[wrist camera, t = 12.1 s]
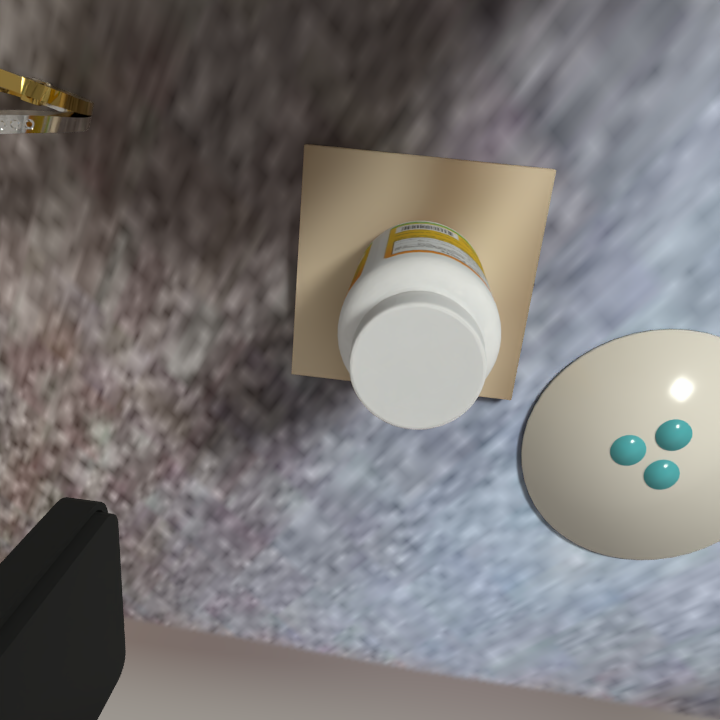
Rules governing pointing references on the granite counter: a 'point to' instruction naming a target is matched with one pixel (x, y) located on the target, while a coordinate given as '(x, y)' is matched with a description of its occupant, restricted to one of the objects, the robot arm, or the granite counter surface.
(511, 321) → the wooden mat
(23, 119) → the ring
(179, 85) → the granite counter surface
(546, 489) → the coaster
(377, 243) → the supplement bottle
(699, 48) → the granite counter surface
